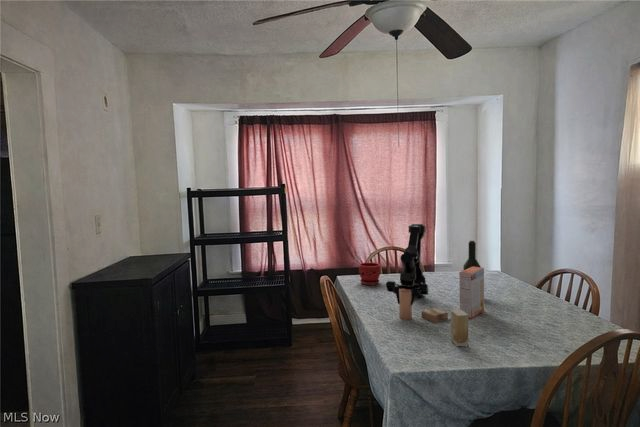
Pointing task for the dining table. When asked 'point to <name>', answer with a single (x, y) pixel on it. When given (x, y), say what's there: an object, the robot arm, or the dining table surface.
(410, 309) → the tan lidded canister
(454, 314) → the skincare box
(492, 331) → the dining table surface
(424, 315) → the plinth
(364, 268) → the plant pot
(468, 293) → the cracker box
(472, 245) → the wine bottle
